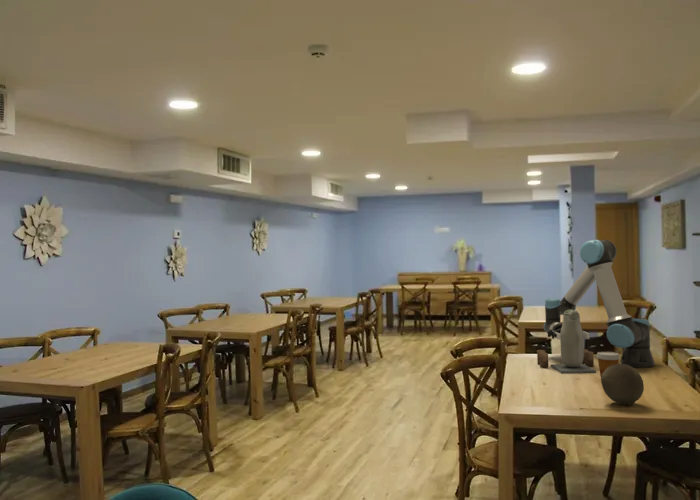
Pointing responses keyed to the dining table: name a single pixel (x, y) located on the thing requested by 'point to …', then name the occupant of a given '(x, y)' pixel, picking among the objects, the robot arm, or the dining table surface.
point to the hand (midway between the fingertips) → (574, 336)
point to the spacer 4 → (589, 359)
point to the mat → (572, 369)
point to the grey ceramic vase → (572, 339)
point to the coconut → (622, 384)
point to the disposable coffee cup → (607, 360)
